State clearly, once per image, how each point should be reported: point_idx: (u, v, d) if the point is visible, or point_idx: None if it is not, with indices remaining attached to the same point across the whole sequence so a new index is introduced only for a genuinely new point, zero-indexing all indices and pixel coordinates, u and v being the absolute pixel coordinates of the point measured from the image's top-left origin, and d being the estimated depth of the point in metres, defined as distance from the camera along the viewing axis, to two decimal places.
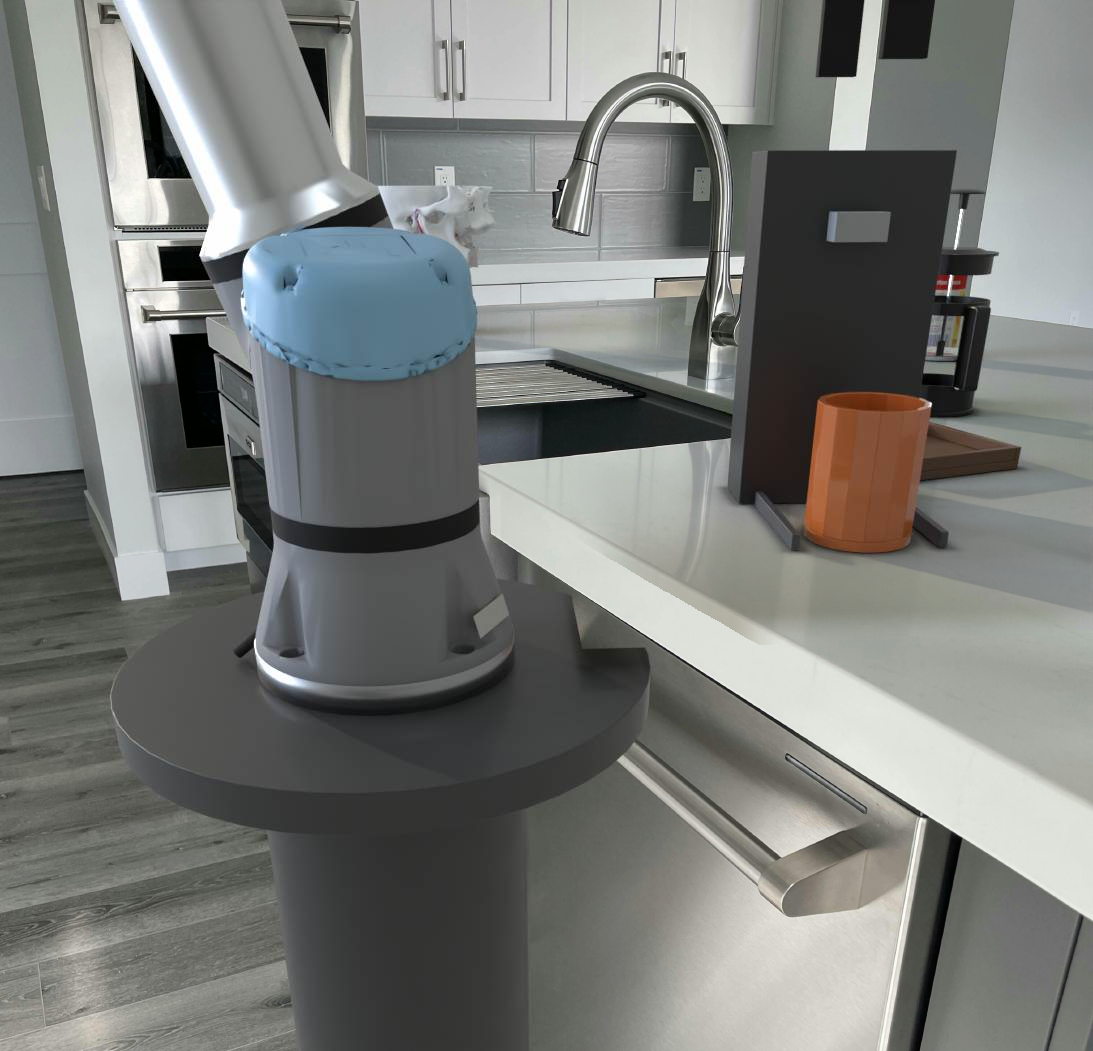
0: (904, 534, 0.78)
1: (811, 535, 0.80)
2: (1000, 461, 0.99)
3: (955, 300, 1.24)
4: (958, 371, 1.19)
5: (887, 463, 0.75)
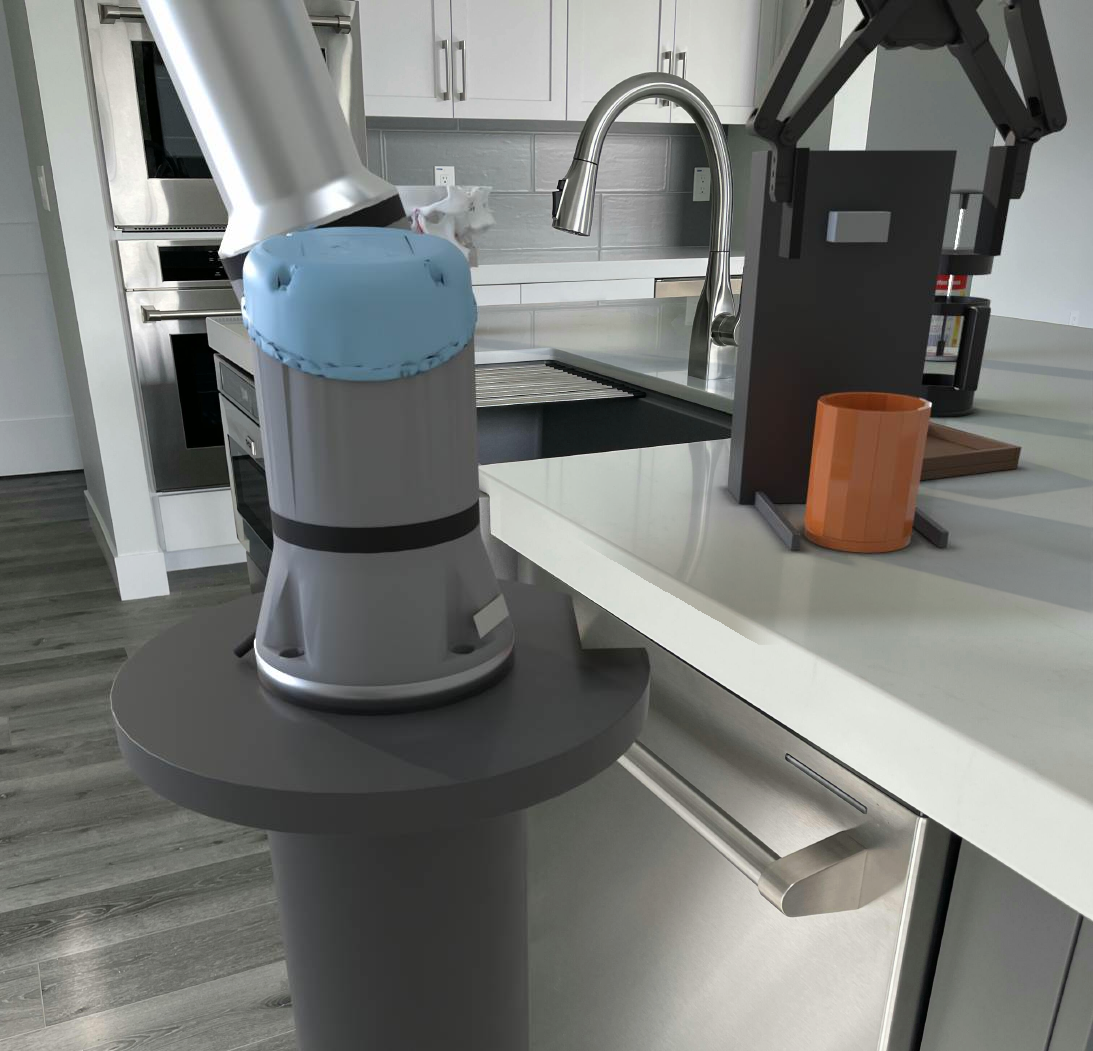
0: (904, 534, 0.78)
1: (811, 535, 0.80)
2: (1000, 461, 0.99)
3: (955, 300, 1.24)
4: (958, 371, 1.19)
5: (887, 463, 0.75)
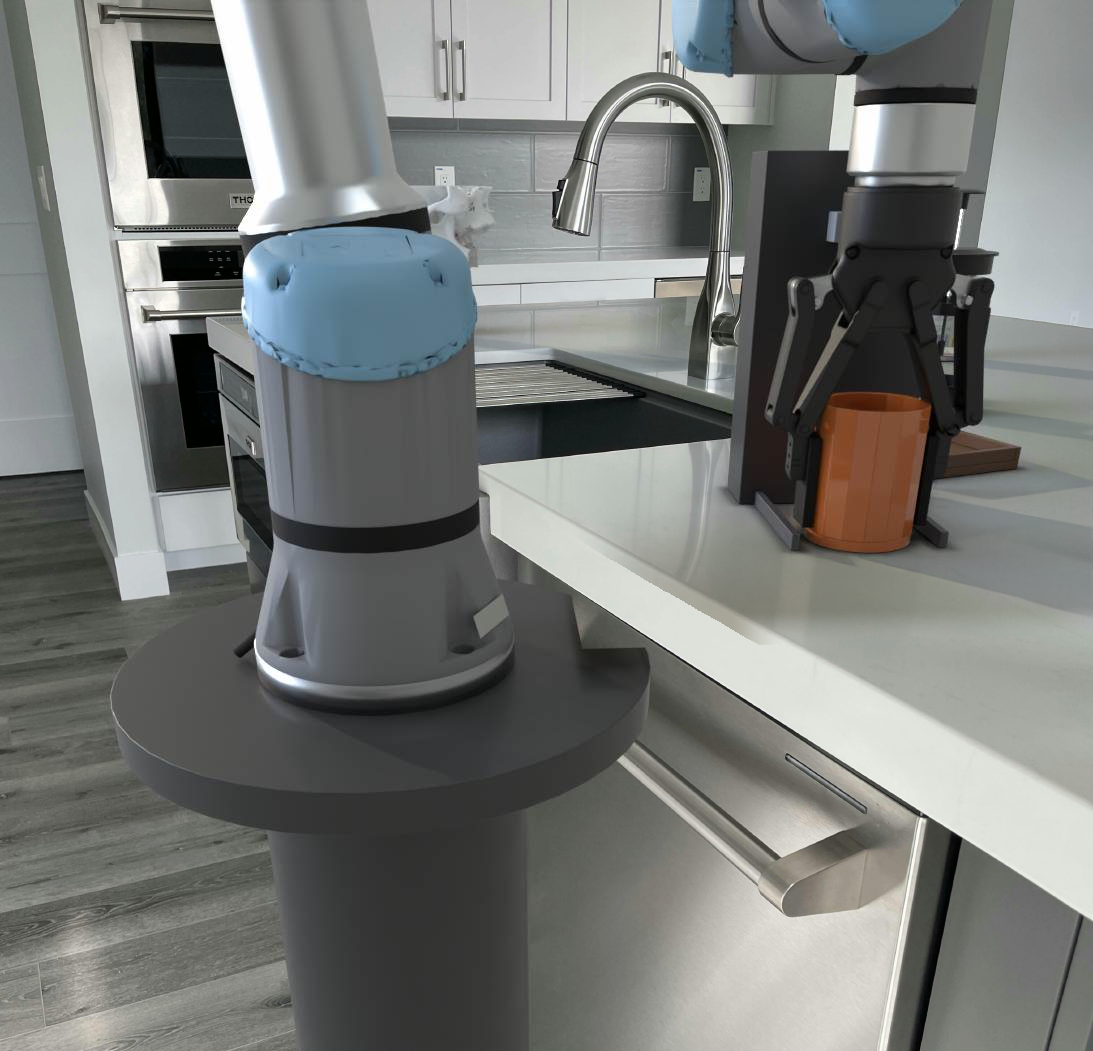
0: (904, 534, 0.78)
1: (811, 535, 0.80)
2: (1000, 461, 0.99)
3: None
4: None
5: (886, 463, 0.75)
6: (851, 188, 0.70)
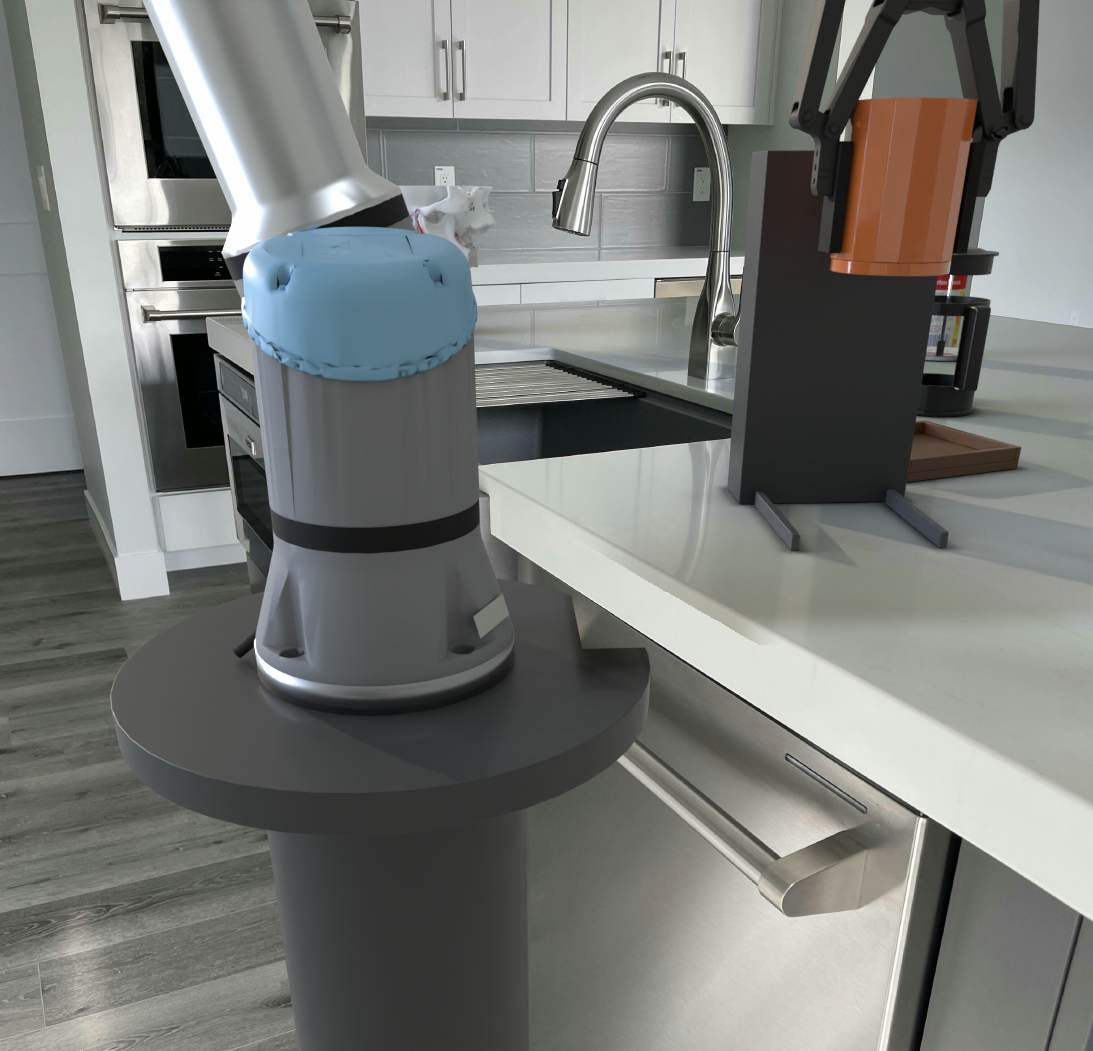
0: (944, 257, 0.70)
1: (838, 264, 0.72)
2: (1000, 461, 0.99)
3: (955, 300, 1.24)
4: (958, 371, 1.19)
5: (927, 162, 0.67)
6: None
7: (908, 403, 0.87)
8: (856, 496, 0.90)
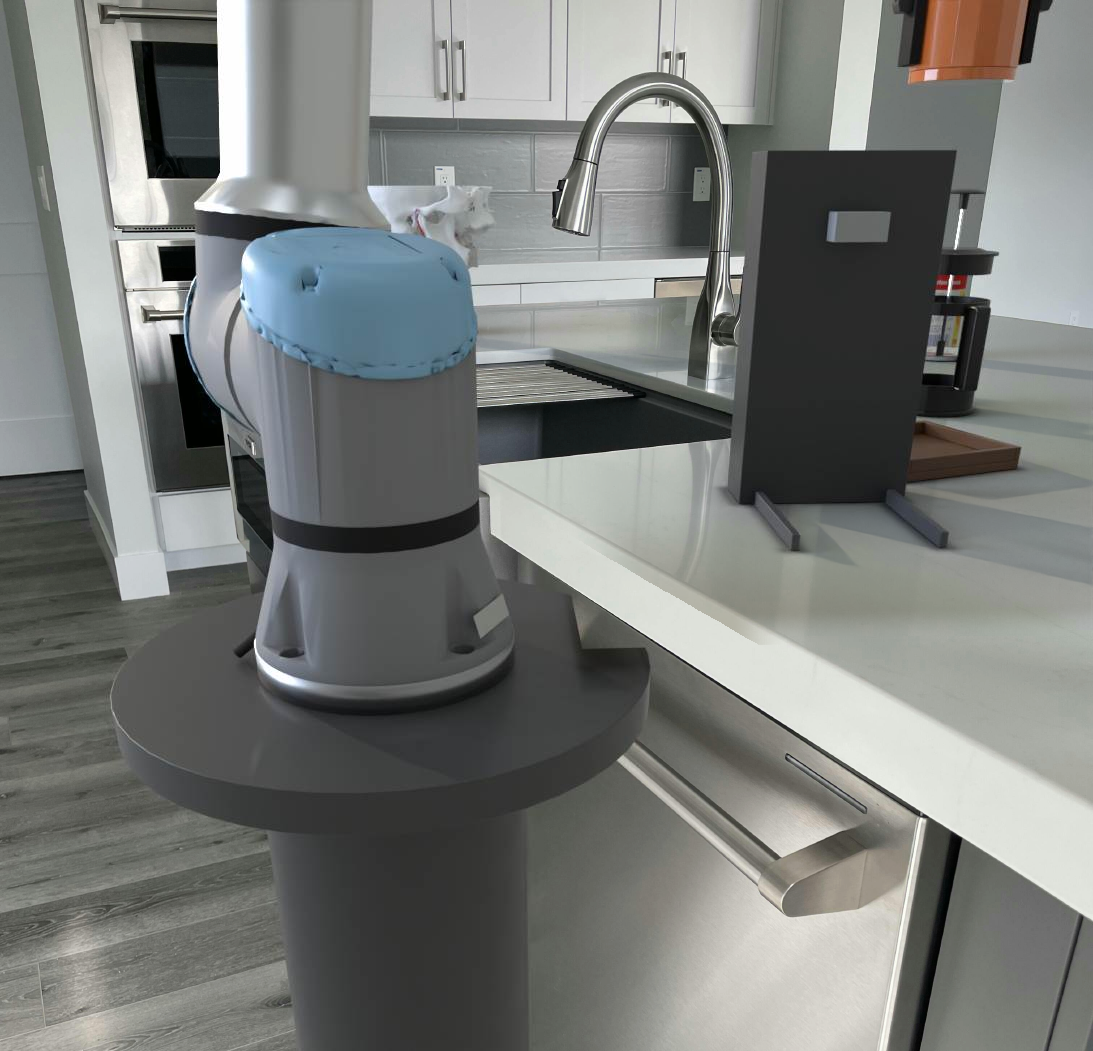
0: (1011, 62, 0.80)
1: (917, 75, 0.81)
2: (1000, 461, 0.99)
3: (955, 300, 1.24)
4: (958, 371, 1.19)
5: None
6: None
7: (908, 403, 0.87)
8: (856, 496, 0.90)
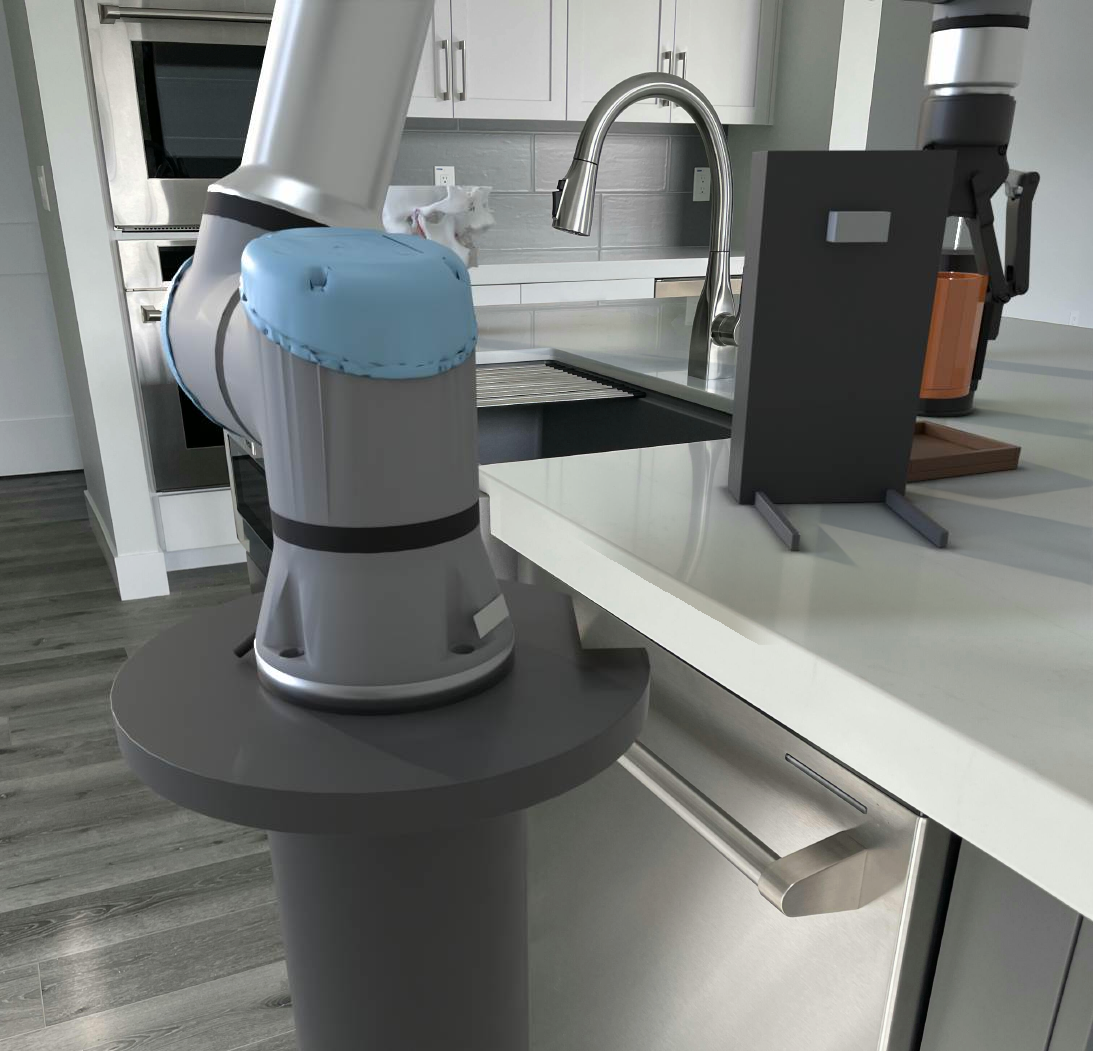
0: (965, 384, 0.97)
1: None
2: (1000, 461, 0.99)
3: None
4: None
5: (953, 322, 0.94)
6: (928, 98, 0.89)
7: (908, 403, 0.87)
8: (856, 496, 0.90)
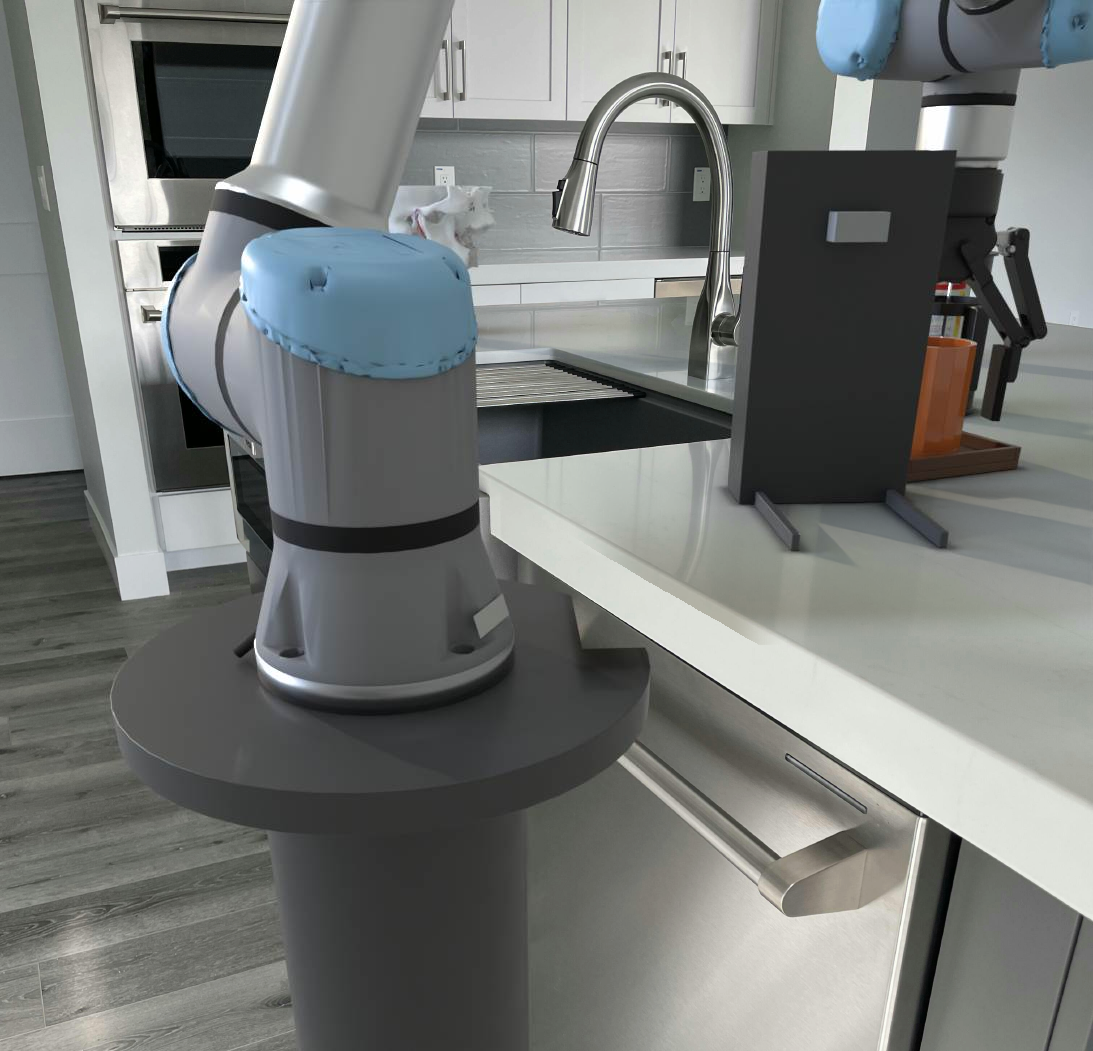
0: (954, 446, 1.00)
1: None
2: (1000, 461, 0.99)
3: (955, 300, 1.24)
4: None
5: (942, 388, 0.97)
6: None
7: (908, 403, 0.87)
8: (856, 496, 0.90)
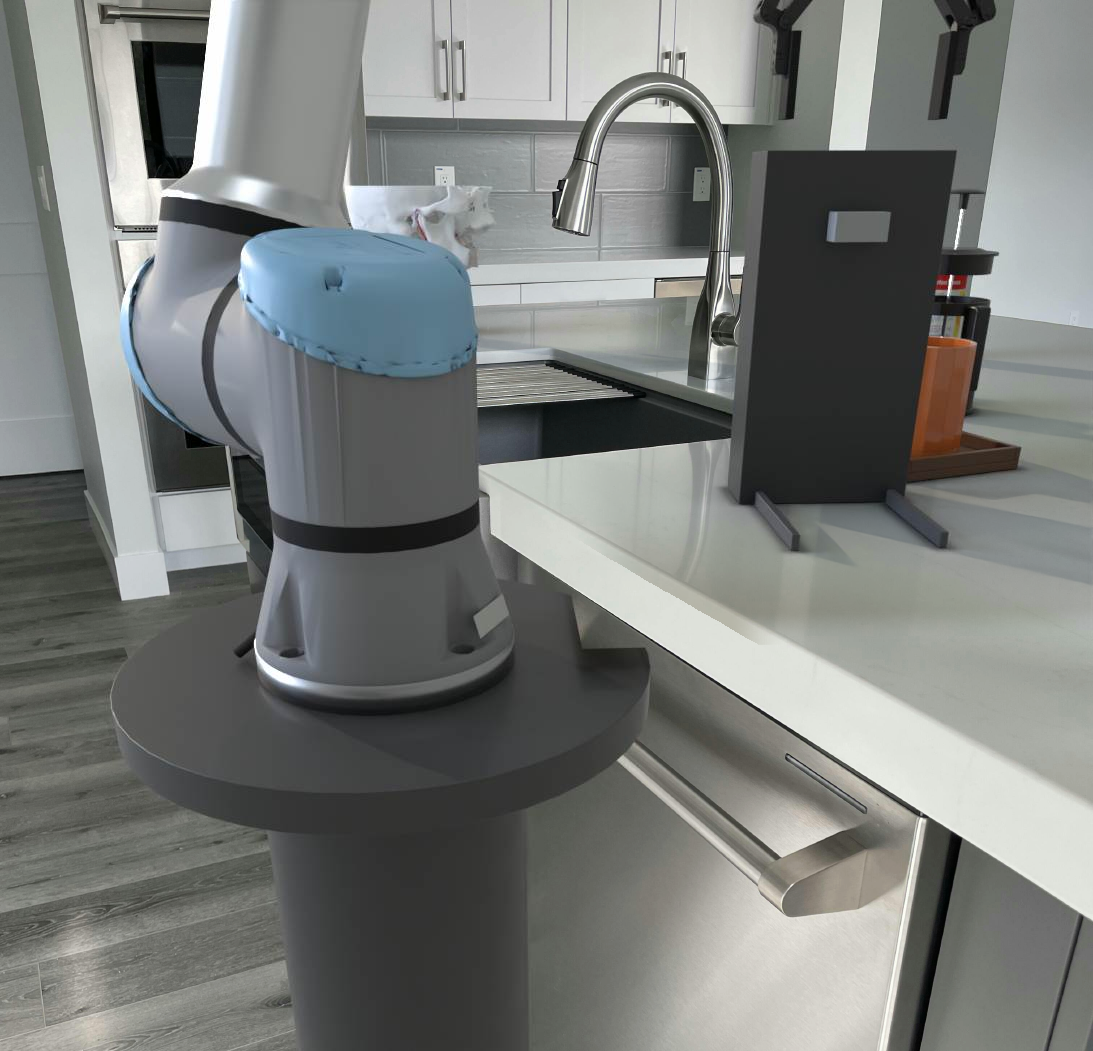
0: (954, 446, 1.00)
1: None
2: (1000, 461, 0.99)
3: (955, 300, 1.24)
4: None
5: (942, 388, 0.97)
6: None
7: (908, 403, 0.87)
8: (856, 496, 0.90)
